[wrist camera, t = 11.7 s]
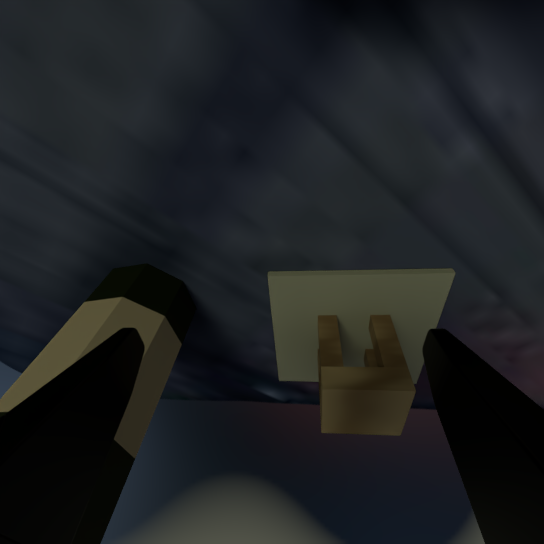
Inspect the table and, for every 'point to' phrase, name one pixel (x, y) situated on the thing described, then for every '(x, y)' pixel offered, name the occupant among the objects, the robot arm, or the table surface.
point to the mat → (353, 313)
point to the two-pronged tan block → (363, 382)
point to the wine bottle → (150, 380)
